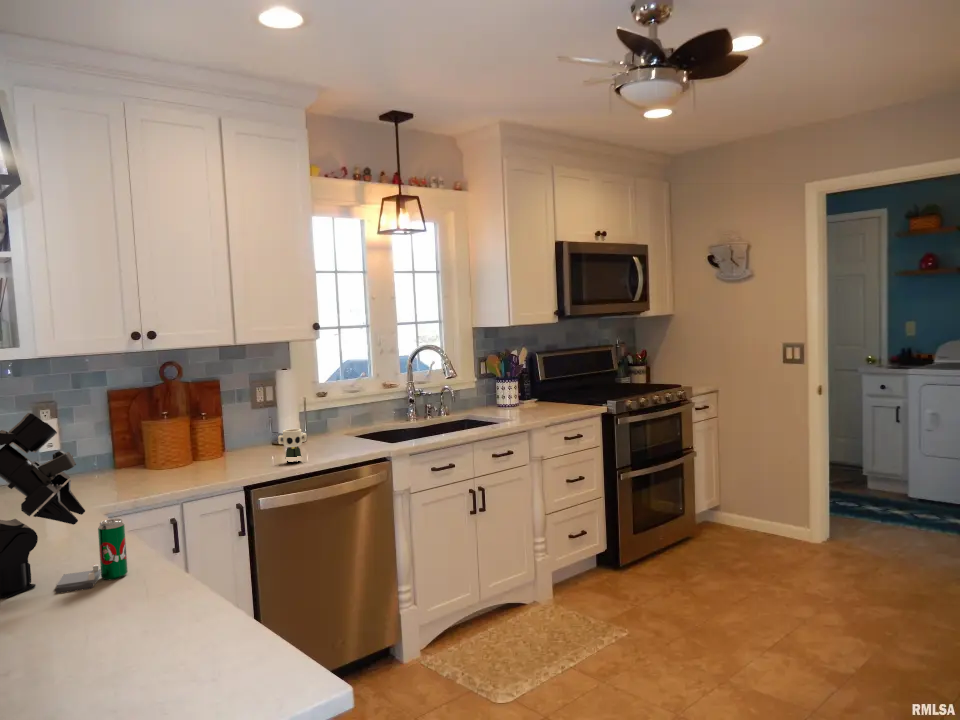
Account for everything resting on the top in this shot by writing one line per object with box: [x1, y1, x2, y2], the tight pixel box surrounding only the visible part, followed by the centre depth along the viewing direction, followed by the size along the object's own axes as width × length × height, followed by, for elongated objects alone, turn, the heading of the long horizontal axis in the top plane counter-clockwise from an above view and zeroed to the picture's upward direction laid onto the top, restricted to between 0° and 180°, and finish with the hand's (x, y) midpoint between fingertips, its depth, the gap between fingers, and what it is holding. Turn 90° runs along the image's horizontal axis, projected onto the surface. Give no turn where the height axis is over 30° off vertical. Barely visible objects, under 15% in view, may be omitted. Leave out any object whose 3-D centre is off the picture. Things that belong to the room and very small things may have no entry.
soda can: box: [97, 518, 129, 581], centre depth 151 cm, size 5×5×12 cm
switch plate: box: [56, 564, 101, 588], centre depth 148 cm, size 7×7×2 cm
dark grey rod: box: [55, 583, 94, 594], centre depth 144 cm, size 7×1×1 cm, turn 110°
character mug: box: [277, 428, 307, 458], centre depth 276 cm, size 11×7×13 cm, turn 113°
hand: (80, 517), depth 149 cm, fingers open, 9 cm apart
